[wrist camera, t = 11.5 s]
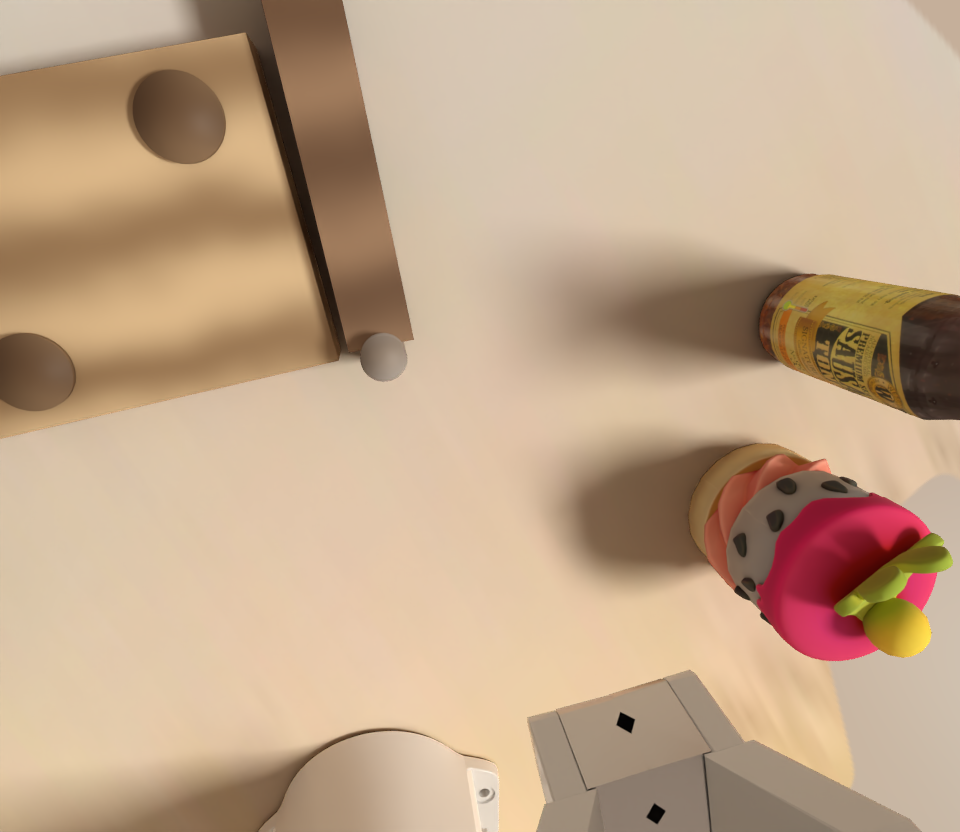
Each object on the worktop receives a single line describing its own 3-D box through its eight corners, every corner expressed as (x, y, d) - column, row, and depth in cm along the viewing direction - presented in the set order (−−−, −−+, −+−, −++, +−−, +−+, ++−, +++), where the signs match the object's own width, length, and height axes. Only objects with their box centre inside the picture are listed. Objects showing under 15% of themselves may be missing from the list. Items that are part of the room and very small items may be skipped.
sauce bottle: (736, 310, 40) (1052, 390, 22) (815, 251, 40) (1204, 280, 21) (778, 386, 43) (1097, 517, 24) (853, 330, 42) (1236, 419, 24)
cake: (839, 506, 47) (1043, 631, 32) (729, 594, 47) (882, 753, 33) (773, 409, 43) (970, 501, 29) (656, 505, 44) (792, 641, 30)
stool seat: (340, 349, 37) (338, 362, 34) (28, 421, 35) (-7, 441, 32) (256, 49, 31) (244, 29, 28) (-117, 116, 30) (-175, 104, 27)
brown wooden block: (415, 354, 37) (421, 374, 33) (357, 366, 37) (356, 388, 32) (332, -37, 31) (325, -82, 26) (261, -27, 30) (241, -72, 26)
